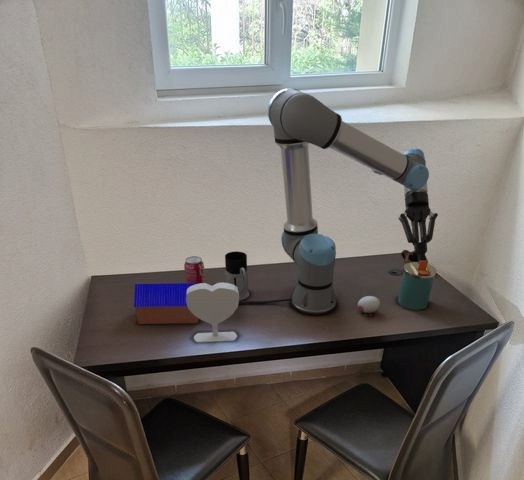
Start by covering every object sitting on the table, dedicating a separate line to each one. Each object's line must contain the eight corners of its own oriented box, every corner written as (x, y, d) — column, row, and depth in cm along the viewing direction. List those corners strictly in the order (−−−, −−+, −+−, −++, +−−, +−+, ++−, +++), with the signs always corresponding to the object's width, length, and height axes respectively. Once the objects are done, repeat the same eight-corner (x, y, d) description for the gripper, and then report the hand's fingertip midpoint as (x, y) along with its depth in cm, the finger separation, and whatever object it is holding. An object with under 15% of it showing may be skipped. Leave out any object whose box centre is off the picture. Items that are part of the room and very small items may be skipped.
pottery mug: (430, 268, 185) (433, 256, 177) (414, 283, 183) (416, 271, 176) (407, 252, 190) (409, 240, 183) (391, 266, 188) (392, 254, 181)
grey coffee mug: (244, 287, 171) (244, 249, 162) (257, 305, 160) (257, 265, 152) (222, 290, 169) (220, 252, 160) (233, 309, 158) (232, 269, 149)
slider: (417, 269, 153) (419, 260, 151) (425, 269, 153) (428, 260, 151) (420, 274, 150) (422, 265, 148) (429, 274, 150) (431, 265, 148)
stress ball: (373, 315, 161) (370, 296, 161) (384, 313, 153) (382, 293, 153) (353, 318, 159) (351, 298, 159) (364, 316, 151) (361, 296, 151)
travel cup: (393, 295, 166) (400, 260, 158) (422, 294, 166) (430, 259, 158) (401, 310, 158) (409, 274, 149) (432, 310, 158) (441, 273, 150)
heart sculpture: (240, 331, 147) (238, 280, 137) (240, 340, 143) (238, 288, 133) (191, 333, 146) (185, 282, 136) (190, 342, 142) (184, 290, 132)
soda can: (203, 284, 173) (201, 254, 166) (207, 292, 168) (205, 262, 161) (185, 286, 171) (181, 256, 164) (188, 295, 166) (185, 265, 159)
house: (198, 323, 151) (195, 292, 144) (137, 324, 150) (131, 293, 144) (201, 305, 160) (198, 274, 154) (143, 305, 160) (138, 275, 153)
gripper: (400, 190, 152) (406, 258, 149) (439, 189, 153) (446, 258, 149) (393, 201, 160) (398, 266, 156) (430, 200, 160) (436, 265, 157)
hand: (421, 262), depth 153 cm, fingers closed
